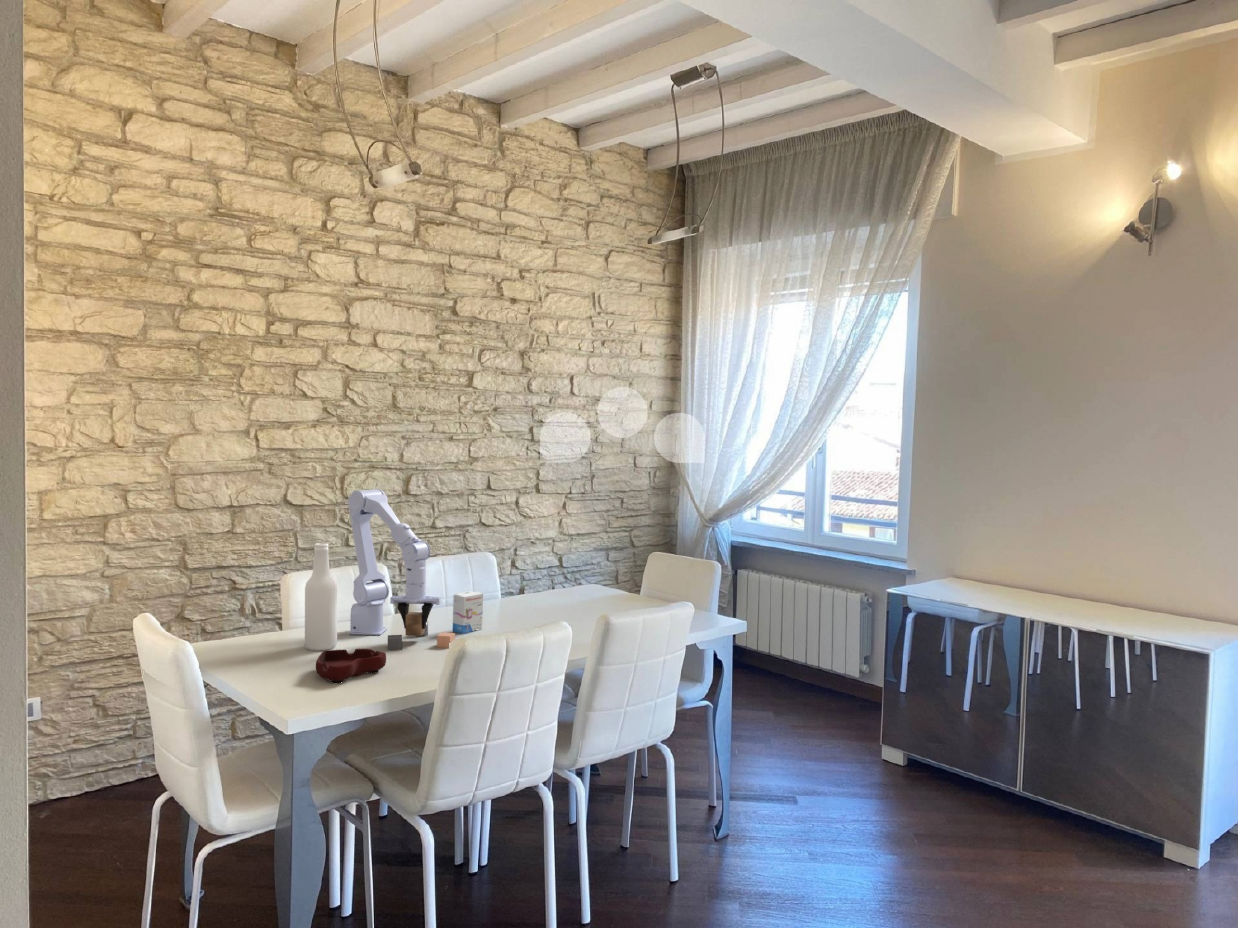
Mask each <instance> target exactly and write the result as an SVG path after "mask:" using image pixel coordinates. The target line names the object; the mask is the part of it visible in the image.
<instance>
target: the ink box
mask: <svg viewBox="0 0 1238 928" xmlns="http://www.w3.org/2000/svg"><path fill="white" fill-rule="evenodd" d="M452 602H453V603H452V604H453V605H452V607H453V608H452V633H459V634H468V632H469V633H472V632H471V631H473V630H476V629H481V630H483V618H484V617H483V613H484V612H483V611H484V610H483V609H484V593H482V592H478V591H476V590H475V591H474V590H471V591H464V592H458V593H454V595H453V601H452ZM473 632H474V631H473Z"/></svg>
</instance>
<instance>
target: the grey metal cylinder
mask: <svg viewBox="0 0 1238 928" xmlns="http://www.w3.org/2000/svg"><path fill="white" fill-rule="evenodd" d="M428 635H429V621H428V620H427V623H426V628H425V632H424V633H423V634H422V635H421V636H416V637H417V638H418V637H419V638H423V637H427V636H428Z"/></svg>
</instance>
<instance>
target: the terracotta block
mask: <svg viewBox="0 0 1238 928" xmlns="http://www.w3.org/2000/svg"><path fill="white" fill-rule="evenodd" d="M454 639H455V640H456V632H445V631H444V632H440V633H439V634H437V635H436V647H437V648H442V649H443V648H446V649H449V648H448V647H449V643H451V642H452V641H453V640H454Z"/></svg>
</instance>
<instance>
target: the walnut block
mask: <svg viewBox="0 0 1238 928" xmlns="http://www.w3.org/2000/svg"><path fill="white" fill-rule="evenodd" d="M424 632H425V629H422V611H409V612H408V614H407V615H406V628H405V636H414V637H417V636H421V635H422V634H423V633H424Z"/></svg>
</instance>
